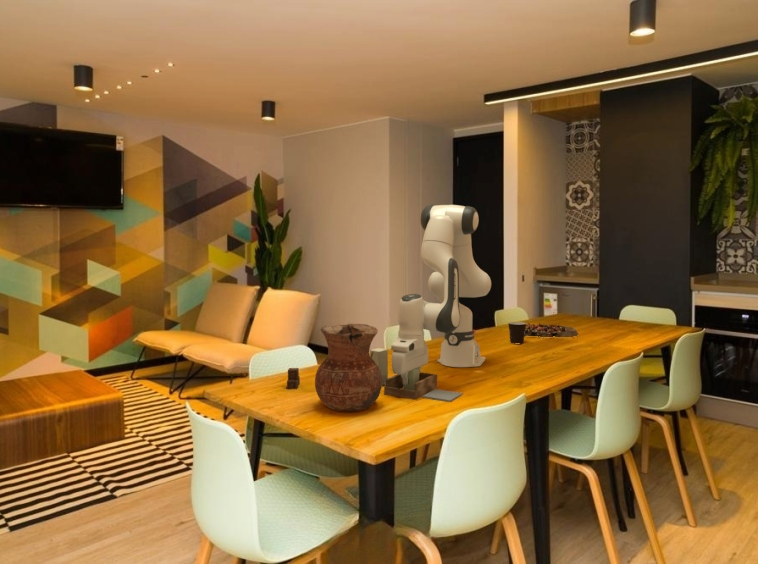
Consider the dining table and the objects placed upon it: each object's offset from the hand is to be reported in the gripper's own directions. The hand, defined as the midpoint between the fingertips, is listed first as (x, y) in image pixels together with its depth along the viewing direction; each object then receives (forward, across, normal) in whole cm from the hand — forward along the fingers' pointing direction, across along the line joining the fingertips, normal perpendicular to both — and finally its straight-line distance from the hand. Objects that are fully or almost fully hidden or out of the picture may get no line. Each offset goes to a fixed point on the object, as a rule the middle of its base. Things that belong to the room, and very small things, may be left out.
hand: (411, 381), depth 201 cm
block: (+3, 0, 0) cm, 3 cm away
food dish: (+4, -140, +8) cm, 140 cm away
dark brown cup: (+4, -105, +3) cm, 105 cm away
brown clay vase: (+4, +25, -9) cm, 27 cm away
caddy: (+3, 0, 0) cm, 3 cm away
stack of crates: (+4, +15, -38) cm, 41 cm away
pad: (+3, 0, +12) cm, 12 cm away
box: (+4, -2, -14) cm, 15 cm away
